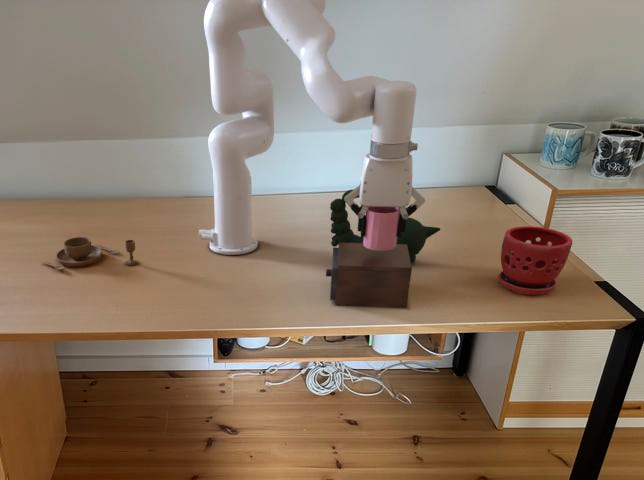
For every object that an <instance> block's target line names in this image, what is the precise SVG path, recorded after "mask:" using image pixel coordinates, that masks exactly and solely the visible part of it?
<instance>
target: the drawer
mask: <svg viewBox="0 0 644 480" xmlns="http://www.w3.org/2000/svg"><path fill="white" fill-rule="evenodd" d="M331 254H332V256H331V258H332V259H331V268H326V269H325V277H329V278H330V291H329V292H330V293H329V300H330V301H335V300H336V289H337V275H338V247H333V246H332V253H331Z"/></svg>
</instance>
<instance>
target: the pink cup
mask: <svg viewBox="0 0 644 480" xmlns="http://www.w3.org/2000/svg"><path fill="white" fill-rule="evenodd" d="M365 215H366V223H365V234H364V238H363V245H364V246H365V247H366V248H368V249H371V250H376V251H387V250H391V249H394V248H395V247H396V244H397V235H398V226H399V219H400V210H399V208H398V207H369V209H368V210H367V212H366V214H365Z"/></svg>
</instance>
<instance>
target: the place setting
mask: <svg viewBox="0 0 644 480" xmlns="http://www.w3.org/2000/svg"><path fill="white" fill-rule="evenodd" d="M124 247H125V251H126V252H127V253H128V254H129V255H128V259H129V260H128V261H127V262H126V265H127V266H131V267H132V266H135V265H137V264H138V261H137V260H134V255H133V254H134V252H135V251H136V241H135V240H134V239H127V240H125V241H124ZM103 250H105V251H107V252H110V254H113V255H117V254H119V253H121V251H113V250H111V249H109V248H105V247H102V246H99V245H93V244H92V241H91V239H90V238H88V237H86V236H77V237H71V238H68V239H66V240H65V241H64V242H63V248H62V249H60V250H59V251H57V252H56V253H55V261H56V262H58V263H59V264H60V265H55V264H52V263H49V262H44V265H47V266H50V267H53V268H54V269H55V270H57V271H64V270H65V267H70V268H82V267H86V266H90V265H92V264H94V263H97V262H98V261H99V260H100V259H101V258H102V256H103ZM64 266H65V267H64Z"/></svg>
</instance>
